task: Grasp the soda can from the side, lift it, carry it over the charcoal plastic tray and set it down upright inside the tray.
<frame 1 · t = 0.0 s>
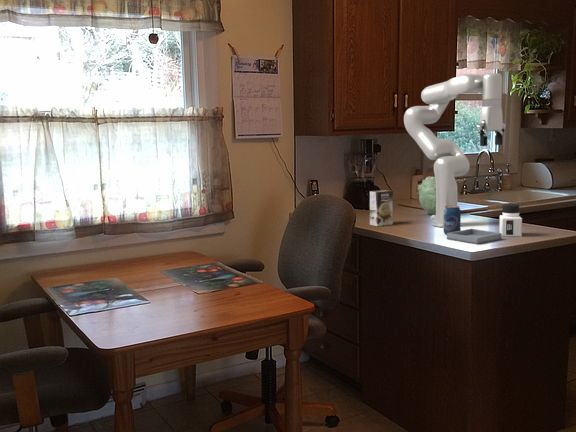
hand: (491, 145, 257), 37 cm above the table, tool pointing down, fingers open, 9 cm apart
soda can: (452, 235, 259), on the table
tray: (473, 239, 248), on the table
coffee box: (381, 225, 291), on the table
container: (510, 235, 254), on the table
cabbage: (436, 215, 314), on the table
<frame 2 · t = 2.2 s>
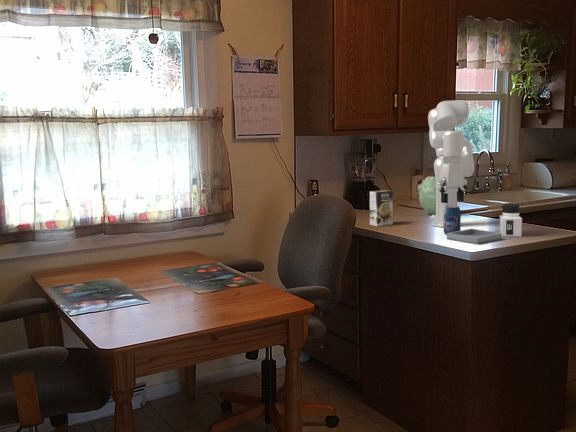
hand: (452, 201, 257), 14 cm above the table, tool pointing down, fingers open, 9 cm apart
nothing on the table moved.
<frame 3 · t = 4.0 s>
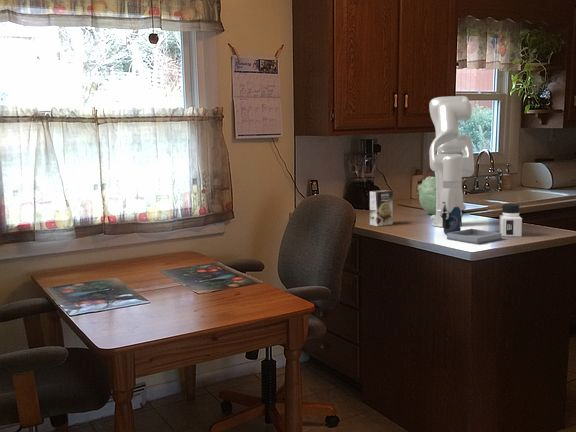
hand: (452, 226, 259), 3 cm above the table, tool pointing down, fingers closed on soda can, 7 cm apart
soda can: (452, 235, 259), on the table, touching gripper
everything else where it was.
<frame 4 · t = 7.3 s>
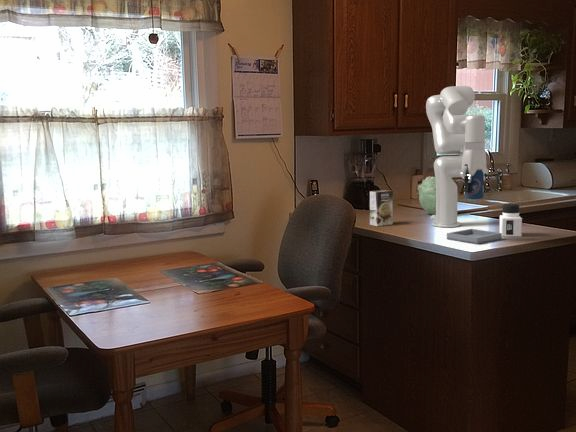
hand: (474, 191, 245), 19 cm above the table, tool pointing down, fingers closed on soda can, 7 cm apart
soda can: (474, 199, 245), point 16 cm above the table, touching gripper
everything else where it was.
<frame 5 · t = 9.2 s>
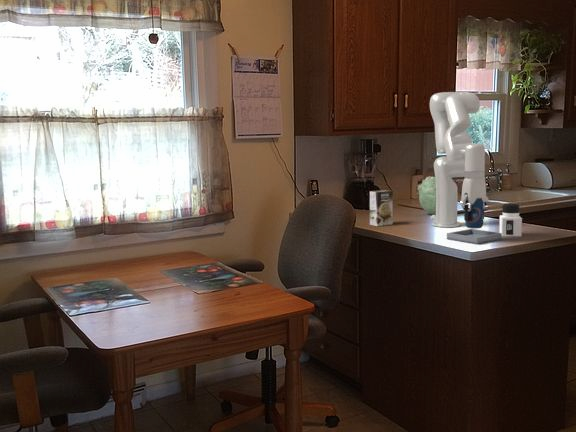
hand: (474, 219, 246), 8 cm above the table, tool pointing down, fingers closed on soda can, 7 cm apart
soda can: (474, 227, 247), point 5 cm above the table, touching gripper
everything else where it was.
when the fingers open (5 cm above the table, at t = 10.8 s): soda can drops 1 cm, resting on tray.
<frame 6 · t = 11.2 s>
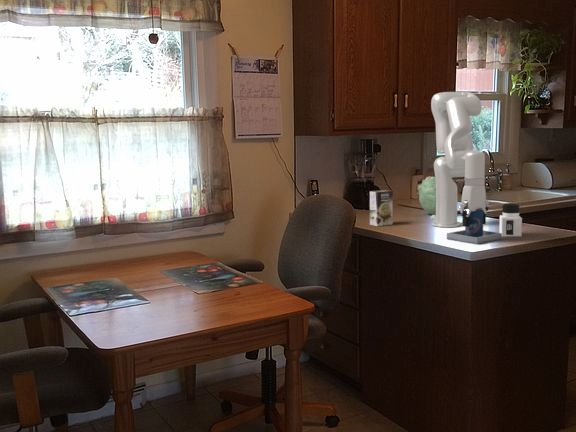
hand: (474, 225, 247), 6 cm above the table, tool pointing down, fingers open, 9 cm apart
soda can: (474, 238, 248), resting on tray
everything else where it was.
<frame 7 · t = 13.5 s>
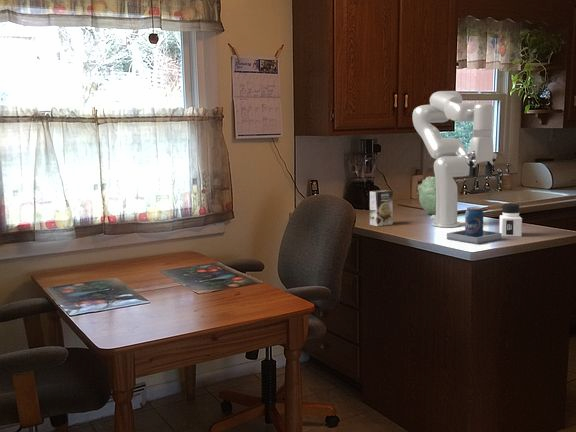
hand: (480, 175, 254), 25 cm above the table, tool pointing down, fingers open, 9 cm apart
nothing on the table moved.
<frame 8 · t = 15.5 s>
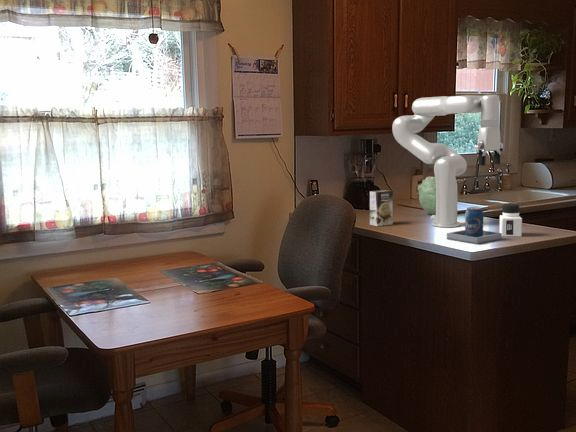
hand: (489, 164, 264), 28 cm above the table, tool pointing down, fingers open, 9 cm apart
nothing on the table moved.
at the end: soda can inside the target area on the tray (0.4 cm from its centre), point 0.4 cm above the tray's base; soda can tilted 0°; the gripper is holding nothing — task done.
